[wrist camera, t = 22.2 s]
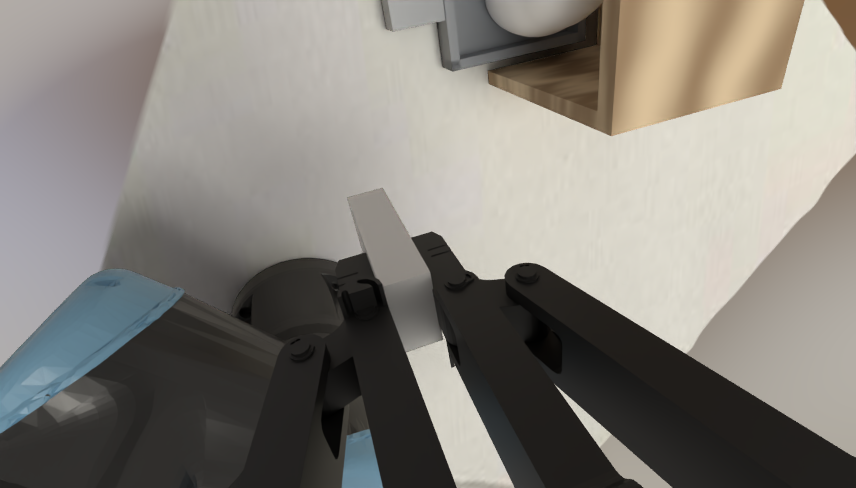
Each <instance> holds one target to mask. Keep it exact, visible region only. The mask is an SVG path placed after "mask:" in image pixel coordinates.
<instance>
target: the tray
mask: <svg viewBox="0 0 856 488" xmlns="http://www.w3.org/2000/svg"><path fill="white" fill-rule="evenodd" d="M381 1H382V7H383V12H384V17H385V23H386V28H387V30H390V31H398V30H403V29H407V28H412V27H417V26H421V25H426V24H431V23H436V22H437V26H438V33H439V41H440V48H441V56H442V64H443V67H444V68H446V69H448V70H451V71H456V70H461V69H465V68H469V67H473V66H478V65H482V64H486V63H491V62H495V61H499V60H503V59H508V58H512V57H516V56H520V55H525V54H529V53H533V52H537V51H542V50H546V49H550V48H554V47H559V46H563V45H567V44H571V43H576V42H580V41H584V40H585V29H586V18H585V19H583V20H582V21H580V22H578V23H576V24H574V25H572V26H569V27H567V28H565V29H563V30H561V31H559V32H557V33H554V34H551V35H547V36H542V37H526V36H521V35H517V34H514V33H511V32H509V31H507V30H505V29H503V28H501V27H500V26H499V25H498V24H497V23H496V22H495V21H494V20H493V19H492V17H491V16H490V14H489V12H488V10H487V7H486V3H485V0H381Z"/></svg>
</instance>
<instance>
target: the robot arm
mask: <svg viewBox="0 0 856 488" xmlns="http://www.w3.org/2000/svg"><path fill="white" fill-rule="evenodd" d="M347 199H348V202H349V206H350V209H351V213H352V216H353V220H354V223H355V227H356V230H357V234H358V237H359V241H360V244H361V248H362V251H363V253H362V254H359V255H356V256H352V257H349V258H345V259H342V260H339V261H338V263H335V262H332V261H328V260H322V259H296V260H290V261H286V262H283V263H280V264H277V265H274V266H272V267H270V268H268V269H266V270H264V271H262V272H261V273H259V274H258V275H256V276H255V277H254V278H253V279H251V280H250V281H249V282H248V283H247V284H246V285H245V287H244V288H243V289H242V290H241V292H240V293H239V295H238V297H237V299H236V301H235V303H234V306H233V310H232V316H231V315H229V314H227V313H225V312H223V311H221V310H218V309H216V308H214V307H212V306H210V305H208V304H206V303H204V302H202V301H200V300H197V299H195V298H193V297H191V296H189V295H187V294H185V293H184V292H185V290H183V289H182V288H180V287H175V288H172V287H169V286H167V285H164V284H162V283H159V282H157V281H155V280H152V279H150V278H147V277H145V276H142V275H140V274H138V273H135V272H133V271H130V270H126V269H107V270H103V271H100V272H98V273H96V274H93V275H92V276H90V277H89V278H87V279H86V280H85V281H84V282H83V283H82V284H81V285H80V286H79V287H78V288H77V289H76V290H75V291H74V292H73V293H72V294H71V295H70V296H69V297H68V298H67V299H66V300H65V301H64V302H63V303H62V304H61V305H60V306H59V307H58V308H57V309H56V310H55V311H54V312H53V313H52V314H51V315H50V316H49V317H48V318H47V319H46V320H45V321H44V322H43V324H41V326H40V327H39V328H38V329H37V330H36V331H35V332H34V333H33V334H32V335H31V336H30V337H29V338H28V339H27V340H26V341H25V342H24V343H23V344H22V345H21V346H20V347H19V348H18V349H17V350H16V351H15V352H14V354H13V355H12V356H11V357H10V358H9V359H8V360H7V361H6V362H5V363H4V364H3V365H2V366H1V367H0V488H457V487H456V485H455V482H454V479H453V477H452V474H451V471H450V469H449V466H448V463H447V461H446V458H445V455H444V453H443V450H442V447H441V445H440V442H439V439H438V437H437V434H436V431H435V429H434V426H433V423H432V421H431V418H430V416H429V413H428V410H427V408H426V405H425V402H424V400H423V397H422V394H421V392H420V389H419V386H418V384H417V381H416V378H415V376H414V373H413V370H412V368H411V365H410V362H409V360H408V357H407V354H406V352H409V351H411V350H414V349H417V348H420V347H423V346H426V345H429V344H432V343H435V342H438V341H440V340H443V336H442V332H443V334H444V336H445V338H446V342H447V347H448V352H449V358H450V363H451V368H452V367H455V366H456V368H457V370H458V372H459V374H460V376H461V378H462V380H463V382H464V384H465V386H466V388H467V390H468V392H469V395H470V397H471V399H472V401H473V403H474V405H475V407H476V409H477V411H478V413H479V415H480V417H481V419H482V421H483V423H484V425H485V427H486V429H487V432H488V434H489V436H490V438H491V440H492V442H493V444H494V446H495V448H496V450H497V452H498V454H499V456H500V458H501V460H502V462H503V464H504V466H505V468H506V471H507V473H508V475H509V477H510V479H511V481H512V483H513V485H514V487H515V488H643V487H642V486H641V485H640V484H638V483H637V482H636V481H634V480H632V479H625V478H623V477H622V476H620V475H619V474H618V472H617V471H616V470H615V469H614V467H613V466H612V464H611V463H610V462H609V460H608V459H607V457H606V456H605V455H604V453H603V452H602V450H601V449H600V448H599V446H598V445H597V443H596V442H595V441H594V439H593V438H592V436H591V435H590V434H589V432H588V431H587V429H586V428H585V427H584V425H583V424H582V422H581V421H580V420H579V418H578V417H577V415H576V414H575V413H574V411H573V410H572V408H571V407H570V406H569V404H568V403H567V401H566V400H565V399H564V397H563V396H562V394H561V393H560V392H559V390H558V389H557V387H559V388H560V389H561V390H562V391H563V392H564V393H565V394H567V395H568V396H569V397H570V398H571V399H572V400H573V401H575V402H576V403H577V404H578V405H579V406H580V407H581V408H583V409H584V410H585V411H586V412H587V413H588V414H589V415H590V416H592V417H593V418H594V419H595V420H596V421H597V422H598V423H600V424H601V425H602V426H603V427H604V428H605V429H606V430H608V431H609V432H610V433H611V434H612V435H613V436H615V437H616V438H617V439H618V440H619V441H620V442H621V443H623V444H624V445H625V446H626V447H627V448H628V449H629V450H630V451H632V452H633V453H634V454H635V455H636V456H637V457H638V458H640V459H641V460H642V461H643V462H644V463H645V464H647V465H648V466H649V467H650V468H651V469H652V470H653V471H654V472H656V473H657V474H658V475H659V476H660V477H661V478H662V479H663V480H665V481H666V482H667V483H668V484H669V485H670V486H672V487H673V488H856V457H854V456H851V455H850V454H848V453H846V452H845V451H843V450H842V449H840V448H838V447H837V446H835V445H833V444H832V443H830V442H829V441H827V440H825V439H824V438H822V437H820V436H819V435H817V434H815V433H814V432H812V431H810V430H809V429H807V428H806V427H804V426H802V425H801V424H799V423H798V422H796V421H794V420H792V419H791V418H789V417H788V416H786V415H784V414H783V413H781V412H780V411H778V410H776V409H775V408H773V407H771V406H770V405H768V404H767V403H765V402H763V401H762V400H760V399H758V398H757V397H755V396H754V395H752V394H750V393H749V392H747V391H745V390H744V389H742V388H740V387H739V386H737V385H736V384H734V383H732V382H731V381H729V380H727V379H726V378H724V377H723V376H721V375H719V374H718V373H716V372H714V371H713V370H711V369H709V368H708V367H706V366H705V365H703V364H701V363H700V362H698V361H696V360H695V359H693V358H692V357H690V356H688V355H687V354H685V353H683V352H682V351H680V350H678V349H677V348H675V347H674V346H672V345H670V344H669V343H667V342H665V341H664V340H662V339H661V338H659V337H657V336H656V335H654V334H652V333H651V332H649V331H648V330H646V329H644V328H643V327H641V326H639V325H638V324H636V323H634V322H633V321H631V320H630V319H628V318H626V317H625V316H623V315H621V314H620V313H618V312H617V311H615V310H613V309H612V308H610V307H608V306H607V305H605V304H603V303H602V302H600V301H599V300H597V299H595V298H594V297H592V296H590V295H589V294H587V293H586V292H584V291H582V290H581V289H579V288H577V287H576V286H574V285H572V284H571V283H569V282H568V281H566V280H564V279H563V278H561V277H559V276H558V275H556V274H555V273H553V272H551V271H550V270H548V269H546V268H545V267H543V266H541V265H538V264H534V263H521V264H517V265H514V266H512V267H511V268H509V269H508V270H507V271H506V273H505V279H498V280H481V279H479V278H478V277H477V276H476V275H475V274H474V273H472V272H469V271H466V270H465V269H464V268H463V266H462V265H461V264H460V262H459V261H458V259H457V258H456V256H455V255H454V253H453V252H452V251H451V249H450V248H449V246H448V245H447V243H446V242H445V241H444V239H443V238H442V236H440V235H438V234H436V233H434V232H429V233H426V234H422V235H419V236H416V237H412V238H411V237H410V235H409V234H408V232H407V230H406V228H405V227H404V225H403V223H402V221H401V219H400V218H399V216H398V214H397V212H396V211H395V209H394V207H393V205H392V204H391V202H390V200H389V198H388V196H387V195H386V193H385V191H384V189H383V188H380V189H376V190H373V191H369V192H365V193H362V194H358V195H354V196H351V197H347ZM441 330H442V331H441ZM454 364H455V365H454ZM554 384H555V385H556V386H557V387H556V386H555V385H554Z"/></svg>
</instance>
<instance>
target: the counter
mask: <svg viewBox="0 0 856 488" xmlns="http://www.w3.org/2000/svg"><path fill="white" fill-rule="evenodd" d="M803 4H804V0H603V3H602V4H601V5H600V6H599V7H598V29H597V45H595V46H591V47H586V48H582V49H578V50H574V51H570V52H565V53H561V54H557V55H553V56H549V57H544V58H540V59H536V60H532V61H528V62H523V63H519V64H515V65H511V66H507V67H502V68H498V69H494V70H490V71H488V79H489V84H490V85H493V86H495V87H497V88H500V89H502V90H504V91H507V92H509V93H511V94H514V95H516V96H519V97H521V98H523V99H526V100H528V101H530V102H533V103H535V104H537V105H540V106H542V107H544V108H547V109H549V110H551V111H554V112H556V113H558V114H561V115H563V116H565V117H568V118H570V119H572V120H575V121H577V122H579V123H582V124H584V125H586V126H589V127H591V128H594V129H596V130H598V131H601V132H603V133H605V134H608V135H610V136H613V135H617V134H621V133H624V132H628V131H631V130H635V129H638V128H642V127H646V126H649V125H653V124H656V123H660V122H663V121H667V120H671V119H674V118H678V117H681V116H685V115H688V114H692V113H696V112H699V111H703V110H706V109H710V108H713V107H717V106H721V105H724V104H728V103H731V102H735V101H738V100H742V99H746V98H749V97H753V96H756V95H760V94H763V93H767V92H771V91H774V90H778V89H781V87H782V83H783V79H784V75H785V72H786V68H787V64H788V60H789V57H790V53H791V49H792V45H793V41H794V38H795V34H796V30H797V26H798V22H799V19H800V15H801V11H802V7H803Z"/></svg>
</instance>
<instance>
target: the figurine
mask: <svg viewBox="0 0 856 488" xmlns="http://www.w3.org/2000/svg"><path fill="white" fill-rule="evenodd" d="M485 3H486V7H487V10H488V12H489V14H490V16H491V17H492V19H493V20H494V21H495V22H496V23H497V24H498V25H499V26H500V27H501V28H503V29H505V30H507V31H509V32H511V33H514V34H517V35H521V36H526V37H542V36H547V35H551V34H554V33H557V32H559V31H561V30H563V29H565V28H567V27H569V26H572V25H574V24H576V23H578V22H580V21H582V20H583V19H585V18H586V17H587V16H589V15H590V14H591V13H593V12H594V11H595V10H596V9H597V8H598V7H599V6H600V5H601V4H602V3H603V0H485Z"/></svg>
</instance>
